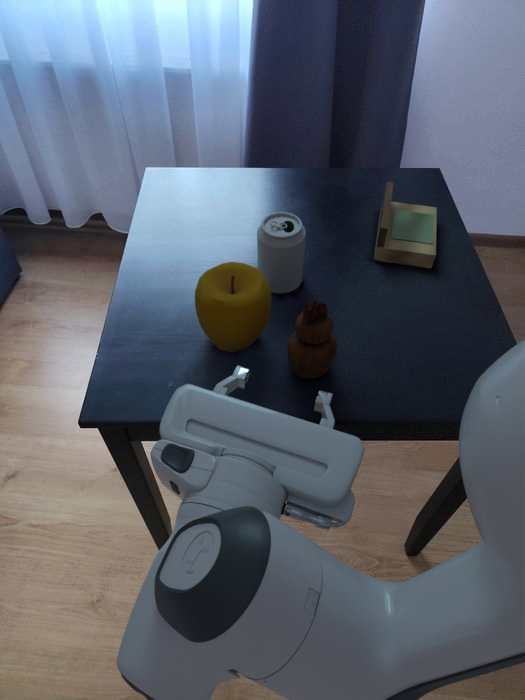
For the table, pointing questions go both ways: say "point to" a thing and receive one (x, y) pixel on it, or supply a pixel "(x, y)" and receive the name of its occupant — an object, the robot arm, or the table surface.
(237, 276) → the apple
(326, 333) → the wooden figurine
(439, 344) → the table surface
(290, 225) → the can
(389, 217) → the l-shaped display stand
